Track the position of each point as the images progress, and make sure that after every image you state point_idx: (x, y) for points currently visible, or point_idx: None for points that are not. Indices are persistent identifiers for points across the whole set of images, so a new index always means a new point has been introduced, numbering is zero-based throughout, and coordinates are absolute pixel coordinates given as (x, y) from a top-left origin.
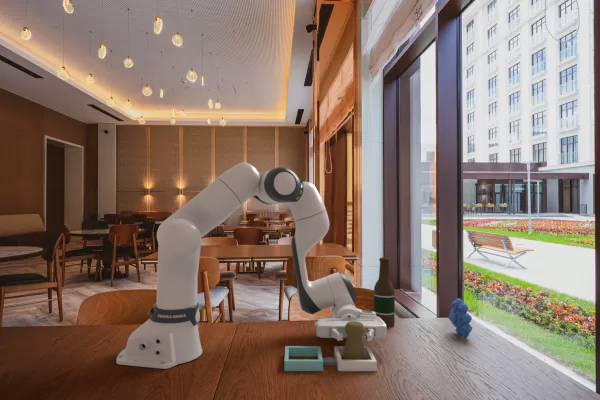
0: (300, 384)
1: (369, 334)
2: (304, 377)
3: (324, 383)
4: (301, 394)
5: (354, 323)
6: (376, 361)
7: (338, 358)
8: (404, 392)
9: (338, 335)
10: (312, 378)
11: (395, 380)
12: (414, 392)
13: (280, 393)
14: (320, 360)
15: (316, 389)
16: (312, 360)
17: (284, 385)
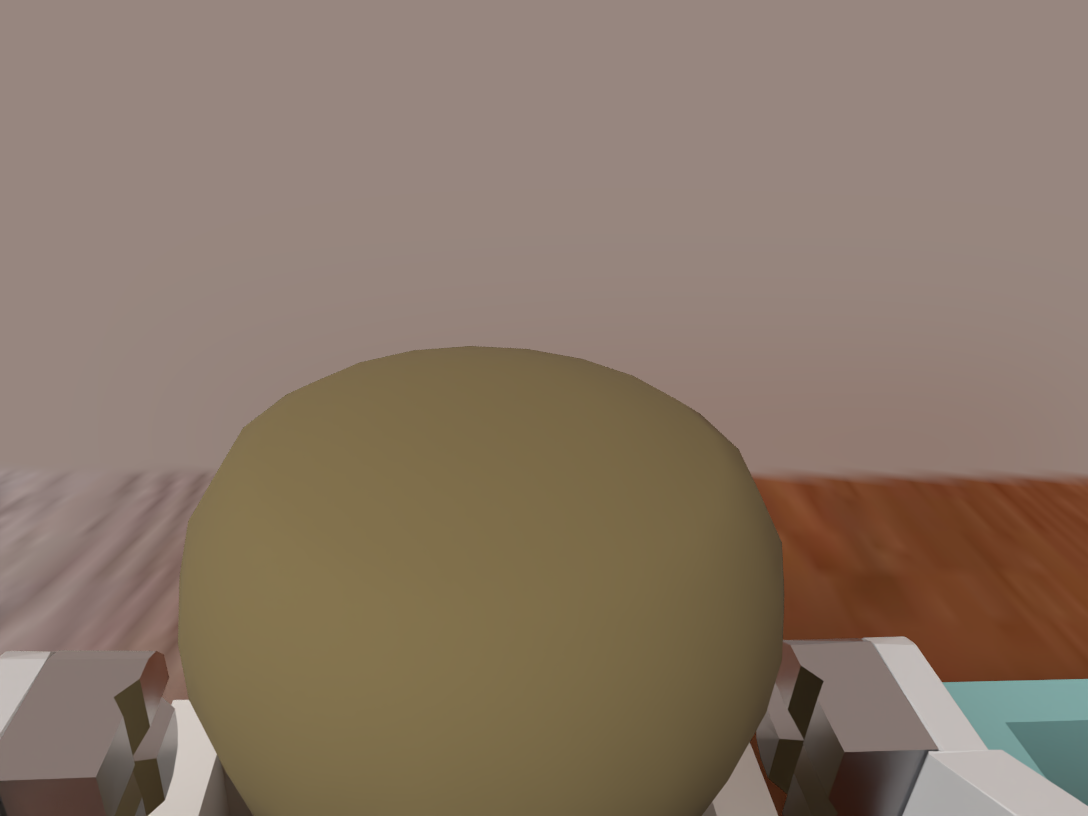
0: (972, 561)
1: (79, 653)
2: (1011, 649)
3: (788, 573)
4: (894, 476)
5: (518, 363)
6: (179, 700)
7: (746, 766)
8: (147, 487)
9: (875, 637)
10: (927, 636)
11: (91, 621)
12: (63, 487)
13: (1031, 484)
14: (972, 703)
15: (820, 514)
16: (1070, 697)
17: (1081, 550)
